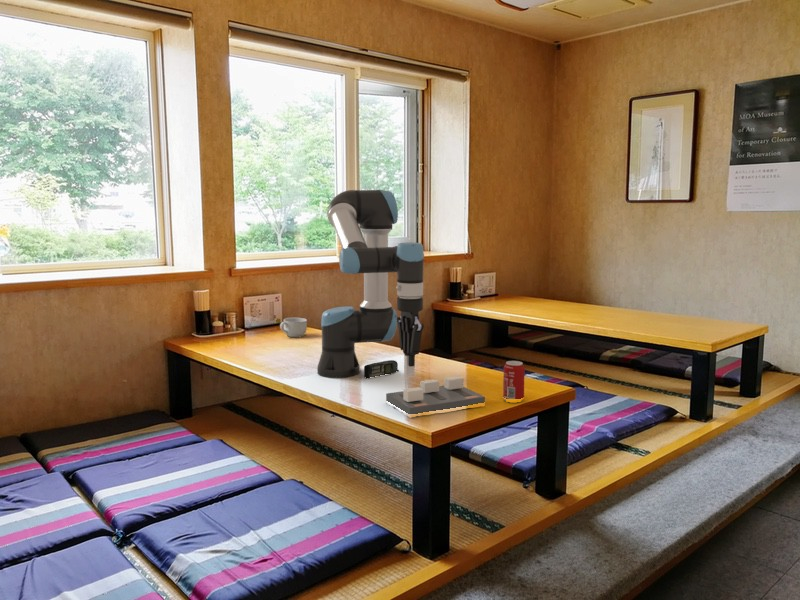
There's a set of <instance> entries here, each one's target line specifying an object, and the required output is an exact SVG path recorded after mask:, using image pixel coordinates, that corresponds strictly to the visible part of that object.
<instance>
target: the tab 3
mask: <svg viewBox="0 0 800 600" xmlns="http://www.w3.org/2000/svg"><path fill="white" fill-rule="evenodd" d="M443 381H444V383H443V384H444V385H443V386H444V387H445V388H447V389H449V390H451V389H458V388H463V387H464V378H463V377H461V376H459V375H457V376H448V377H444V380H443Z"/></svg>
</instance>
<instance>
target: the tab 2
mask: <svg viewBox="0 0 800 600" xmlns="http://www.w3.org/2000/svg"><path fill="white" fill-rule="evenodd" d="M439 386H440V381H439V380H437V379H433V378H432V379H426V380H420V382H419V388H421V389H423V393H430V392H437V391H439Z"/></svg>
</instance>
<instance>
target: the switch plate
mask: <svg viewBox="0 0 800 600" xmlns="http://www.w3.org/2000/svg"><path fill="white" fill-rule="evenodd" d="M386 401H388V402H390V403H391V404H393V405H395V406H396V407H398V408H400V409H401V410H403V411H405V412H406V413H408V414H418V413H423V412H429V411H436V410H443V409H450V408H456V407H462V406H468V405H473V404H478V403H484V402H485V403H486V396H484V395H483V394H480V393H478V392H476V391H474V390H472V389H469V388H467V387H465V386H463V388H458V389H451V390H449V389H447V388H445V387H444V385H439V391H437V392H430V393H423V400H418V401H411V402H407V401H405V400H404V399H403V390H402V391H395V392H388V393H386V394H385V402H386Z"/></svg>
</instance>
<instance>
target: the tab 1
mask: <svg viewBox="0 0 800 600" xmlns="http://www.w3.org/2000/svg"><path fill="white" fill-rule="evenodd" d="M402 391H403V399H404V400H405V401H407V402H411V401H418V400H423V389H421V388H420V386H417V387H410V388H409V387H408V388H403V389H402Z"/></svg>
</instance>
